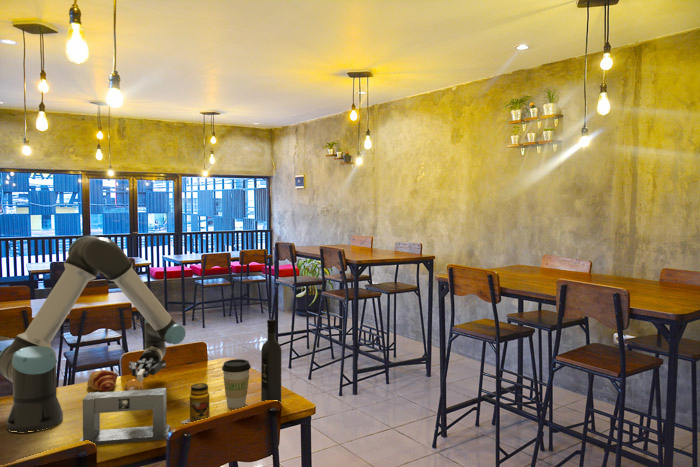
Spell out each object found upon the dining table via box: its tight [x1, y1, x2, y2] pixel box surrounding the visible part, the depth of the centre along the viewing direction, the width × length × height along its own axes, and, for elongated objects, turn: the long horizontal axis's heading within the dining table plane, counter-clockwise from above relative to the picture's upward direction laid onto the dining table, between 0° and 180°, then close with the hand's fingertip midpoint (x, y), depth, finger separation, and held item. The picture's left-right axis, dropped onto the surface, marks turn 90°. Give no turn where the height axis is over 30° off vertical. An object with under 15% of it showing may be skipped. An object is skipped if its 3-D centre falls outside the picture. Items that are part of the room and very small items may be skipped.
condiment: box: [180, 382, 210, 425], centre depth 163 cm, size 7×8×12 cm
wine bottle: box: [260, 318, 283, 403], centre depth 178 cm, size 6×6×30 cm
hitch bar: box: [79, 387, 171, 446], centre depth 151 cm, size 24×8×13 cm, turn 102°
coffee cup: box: [221, 358, 251, 409], centre depth 177 cm, size 10×10×15 cm
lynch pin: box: [120, 378, 144, 407], centre depth 156 cm, size 5×14×5 cm, turn 12°
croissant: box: [87, 369, 118, 392], centre depth 195 cm, size 21×10×8 cm, turn 39°
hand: (139, 378), depth 171 cm, fingers closed
